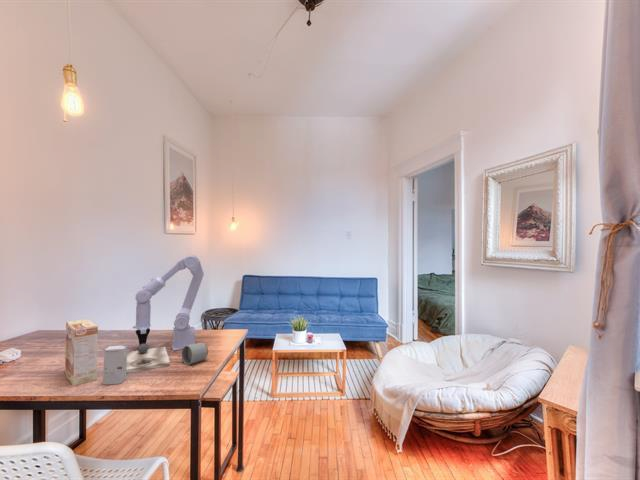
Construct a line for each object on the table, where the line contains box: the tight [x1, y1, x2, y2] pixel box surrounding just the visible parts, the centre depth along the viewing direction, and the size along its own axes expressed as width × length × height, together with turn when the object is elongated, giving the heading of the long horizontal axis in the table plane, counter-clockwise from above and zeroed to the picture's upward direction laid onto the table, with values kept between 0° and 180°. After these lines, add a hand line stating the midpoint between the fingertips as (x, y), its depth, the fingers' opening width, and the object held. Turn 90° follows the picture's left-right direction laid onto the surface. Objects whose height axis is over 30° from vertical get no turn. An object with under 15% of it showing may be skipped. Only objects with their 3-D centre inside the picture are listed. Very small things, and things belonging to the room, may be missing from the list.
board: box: [126, 346, 171, 375], centre depth 126 cm, size 18×22×2 cm
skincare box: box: [102, 345, 129, 386], centre depth 107 cm, size 6×4×12 cm
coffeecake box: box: [64, 318, 99, 387], centre depth 110 cm, size 15×7×20 cm, turn 48°
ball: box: [137, 343, 149, 353], centre depth 131 cm, size 4×4×4 cm
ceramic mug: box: [181, 342, 209, 366], centre depth 127 cm, size 11×8×8 cm
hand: (142, 345), depth 138 cm, fingers closed
